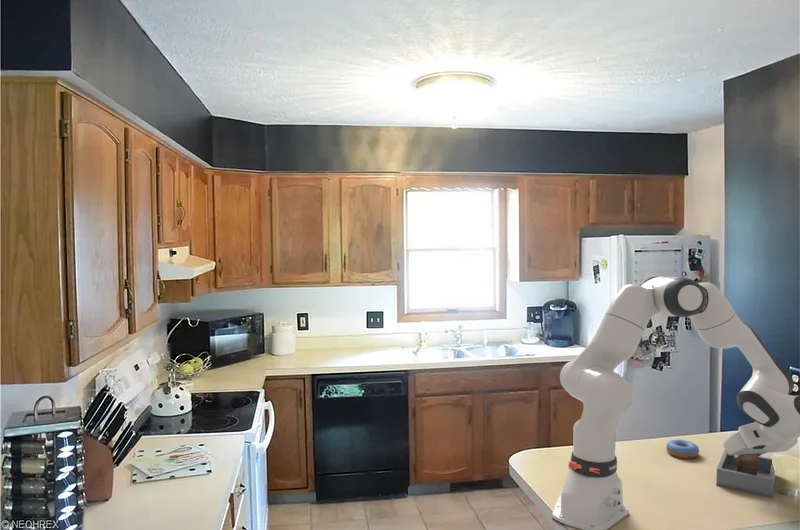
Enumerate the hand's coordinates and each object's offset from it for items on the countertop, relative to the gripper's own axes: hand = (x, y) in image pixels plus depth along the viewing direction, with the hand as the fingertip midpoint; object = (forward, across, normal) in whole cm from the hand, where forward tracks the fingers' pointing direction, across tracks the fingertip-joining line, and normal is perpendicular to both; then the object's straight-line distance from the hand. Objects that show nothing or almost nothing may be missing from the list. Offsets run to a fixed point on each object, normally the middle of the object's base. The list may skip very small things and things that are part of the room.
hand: (745, 454), depth 175 cm
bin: (+5, 0, +6) cm, 8 cm away
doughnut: (+21, +6, -9) cm, 24 cm away
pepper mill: (+3, 0, +4) cm, 5 cm away
